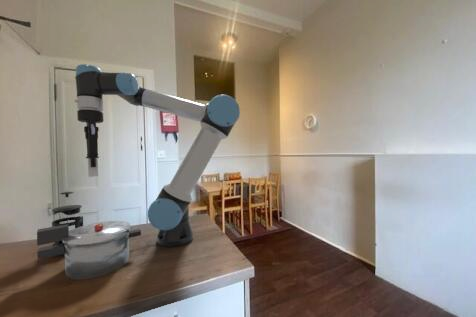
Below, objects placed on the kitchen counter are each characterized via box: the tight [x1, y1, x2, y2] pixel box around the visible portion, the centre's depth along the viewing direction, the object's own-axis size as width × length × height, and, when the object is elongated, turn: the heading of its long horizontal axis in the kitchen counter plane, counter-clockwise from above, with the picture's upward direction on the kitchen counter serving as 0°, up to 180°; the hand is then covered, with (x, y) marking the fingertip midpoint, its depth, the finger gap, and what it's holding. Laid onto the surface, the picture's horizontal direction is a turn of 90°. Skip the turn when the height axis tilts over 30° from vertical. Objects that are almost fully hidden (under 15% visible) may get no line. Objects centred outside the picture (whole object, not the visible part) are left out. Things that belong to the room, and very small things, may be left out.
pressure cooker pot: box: [37, 228, 142, 280], centre depth 69 cm, size 28×18×10 cm, turn 127°
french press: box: [51, 191, 84, 257], centre depth 80 cm, size 12×9×23 cm
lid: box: [36, 220, 131, 246], centre depth 68 cm, size 24×19×5 cm
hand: (93, 176), depth 73 cm, fingers closed
